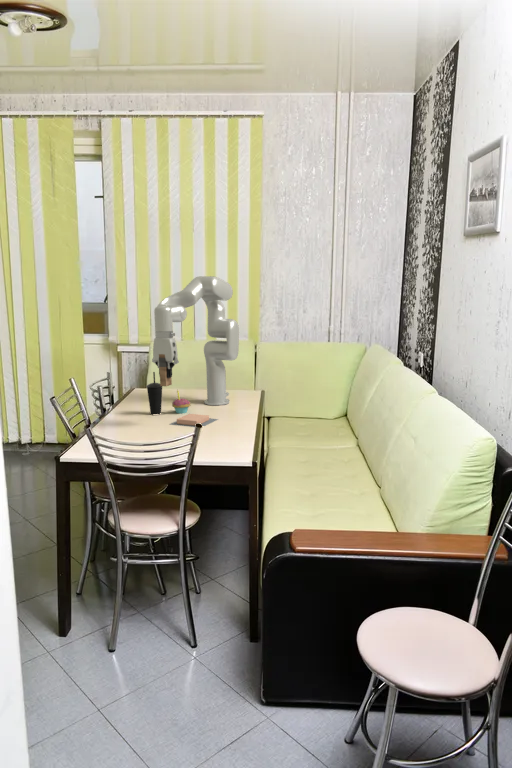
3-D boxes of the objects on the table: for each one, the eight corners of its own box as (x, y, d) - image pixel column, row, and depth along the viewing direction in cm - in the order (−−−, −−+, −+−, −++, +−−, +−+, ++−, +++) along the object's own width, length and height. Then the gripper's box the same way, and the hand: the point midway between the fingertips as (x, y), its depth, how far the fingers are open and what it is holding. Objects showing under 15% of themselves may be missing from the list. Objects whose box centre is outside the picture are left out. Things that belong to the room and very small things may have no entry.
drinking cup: (161, 411, 297) (160, 370, 294) (165, 414, 290) (164, 372, 287) (146, 412, 295) (144, 371, 291) (149, 416, 288) (147, 373, 284)
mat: (187, 417, 284) (187, 416, 284) (218, 420, 278) (218, 419, 277) (168, 425, 270) (168, 424, 270) (200, 429, 263) (200, 427, 263)
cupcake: (181, 416, 287) (180, 390, 284) (168, 414, 292) (167, 389, 289) (194, 412, 293) (193, 387, 291) (181, 410, 298) (180, 386, 296)
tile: (189, 413, 280) (176, 419, 270) (209, 415, 275) (196, 421, 266) (189, 418, 280) (176, 424, 270) (209, 420, 276) (196, 426, 266)
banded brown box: (165, 384, 274) (164, 352, 271) (172, 384, 273) (170, 353, 270) (160, 386, 270) (158, 354, 267) (166, 386, 269) (164, 354, 266)
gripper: (184, 335, 267) (186, 377, 271) (153, 333, 274) (154, 374, 277) (175, 336, 261) (177, 379, 264) (143, 335, 267) (145, 377, 271)
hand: (165, 376), depth 271 cm, fingers closed on banded brown box, 3 cm apart
